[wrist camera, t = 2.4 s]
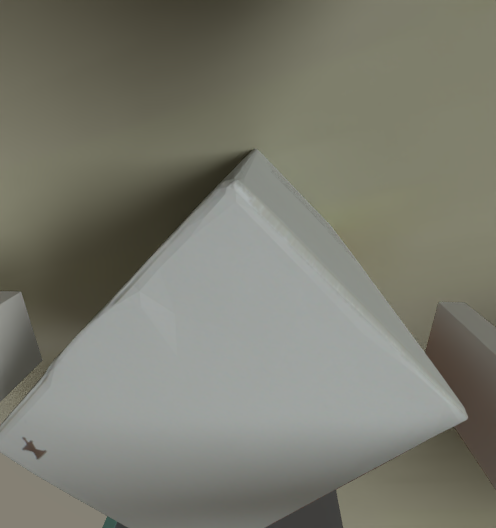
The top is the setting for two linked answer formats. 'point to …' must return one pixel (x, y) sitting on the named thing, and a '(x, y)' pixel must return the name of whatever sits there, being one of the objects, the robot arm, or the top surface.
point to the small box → (232, 373)
